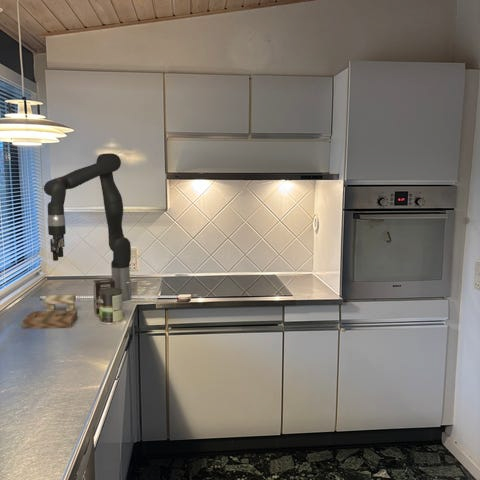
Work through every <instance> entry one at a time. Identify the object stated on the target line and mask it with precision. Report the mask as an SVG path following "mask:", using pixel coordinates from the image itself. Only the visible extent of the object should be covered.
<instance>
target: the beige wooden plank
mask: <svg viewBox="0 0 480 480" xmlns="http://www.w3.org/2000/svg"><path fill="white" fill-rule="evenodd" d="M76 299H77V298H76V294H61V295H60V294H56V295H55V294H53V295H52V294H50V295H48V294H47V295H46V296H44V302H45V303H44V304H45V305H46V311H56V305H57V304H60V305H61V304H65V306H66V311H76V309H75V307H76V306H75V305H76V304H75V303H76V301H77V300H76Z"/></svg>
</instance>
